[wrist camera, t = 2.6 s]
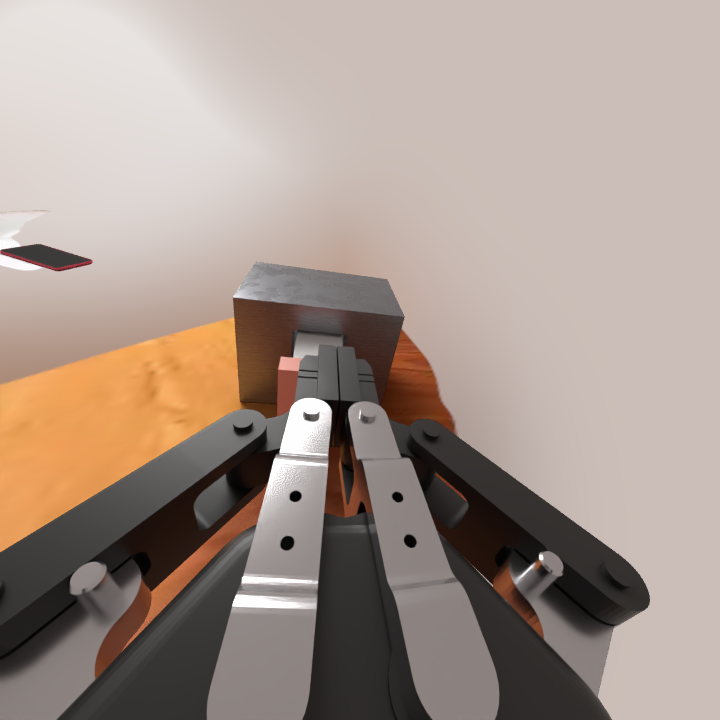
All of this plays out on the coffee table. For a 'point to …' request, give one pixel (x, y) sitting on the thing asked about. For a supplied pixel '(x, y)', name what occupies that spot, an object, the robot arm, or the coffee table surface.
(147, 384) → the coffee table surface
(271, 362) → the block
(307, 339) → the plug
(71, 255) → the smartphone
